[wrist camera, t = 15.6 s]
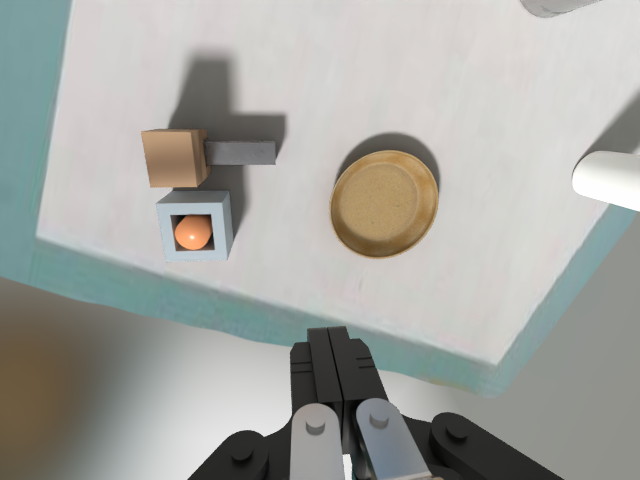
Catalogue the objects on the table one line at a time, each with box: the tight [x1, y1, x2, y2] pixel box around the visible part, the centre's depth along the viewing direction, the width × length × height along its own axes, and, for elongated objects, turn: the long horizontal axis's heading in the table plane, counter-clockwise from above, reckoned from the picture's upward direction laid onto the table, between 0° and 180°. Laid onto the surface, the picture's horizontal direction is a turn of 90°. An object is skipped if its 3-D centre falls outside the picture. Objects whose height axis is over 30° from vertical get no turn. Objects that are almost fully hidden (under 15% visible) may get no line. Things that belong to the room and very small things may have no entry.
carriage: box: [141, 129, 211, 187], centre depth 35 cm, size 5×4×7 cm
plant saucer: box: [329, 150, 439, 259], centre depth 44 cm, size 15×15×3 cm
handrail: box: [203, 140, 276, 165], centre depth 38 cm, size 2×13×4 cm, turn 89°
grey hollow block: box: [156, 191, 234, 262], centre depth 40 cm, size 7×7×6 cm
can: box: [572, 151, 640, 211], centre depth 42 cm, size 6×6×12 cm
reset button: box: [175, 214, 213, 250], centre depth 40 cm, size 4×4×6 cm
